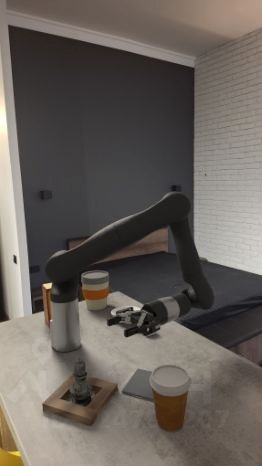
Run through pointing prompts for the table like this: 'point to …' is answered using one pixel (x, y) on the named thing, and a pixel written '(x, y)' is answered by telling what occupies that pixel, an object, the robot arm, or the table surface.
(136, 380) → the charcoal coaster
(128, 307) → the spoon rest
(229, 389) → the table surface
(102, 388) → the walnut holder
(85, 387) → the black chess piece
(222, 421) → the table surface
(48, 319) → the baking soda box
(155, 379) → the disposable coffee cup
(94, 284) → the reusable coffee cup
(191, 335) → the table surface
